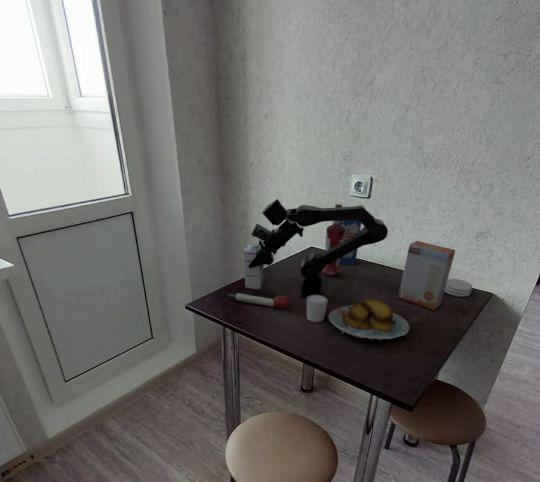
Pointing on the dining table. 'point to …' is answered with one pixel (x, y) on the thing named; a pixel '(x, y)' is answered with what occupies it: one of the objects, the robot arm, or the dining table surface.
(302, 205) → the robot arm
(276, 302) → the baster
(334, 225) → the liquor
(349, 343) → the dining table surface
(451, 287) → the coaster
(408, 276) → the cracker box
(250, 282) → the syrup box
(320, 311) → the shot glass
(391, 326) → the food on plate
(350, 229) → the milk carton
